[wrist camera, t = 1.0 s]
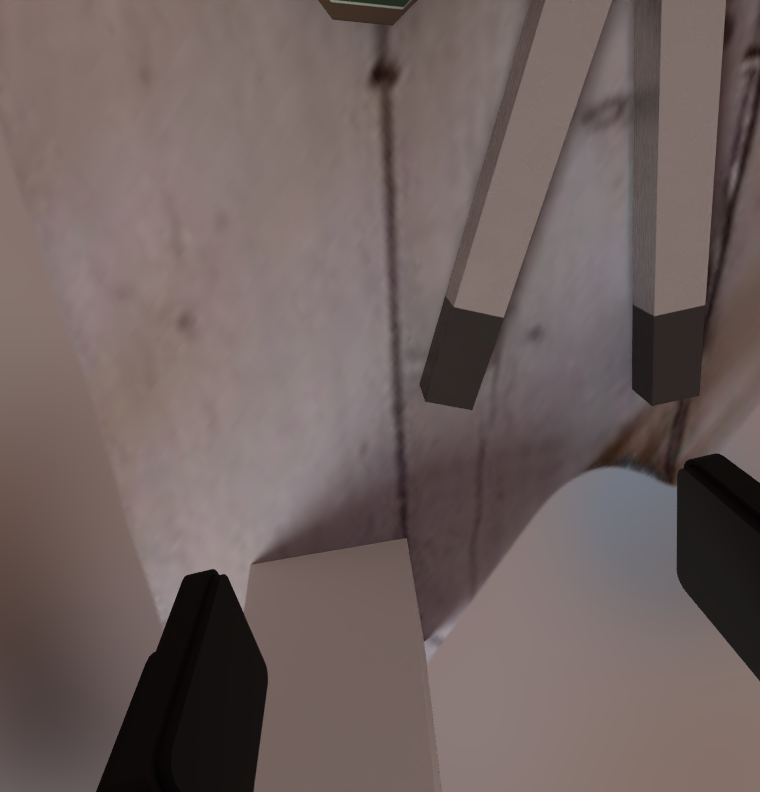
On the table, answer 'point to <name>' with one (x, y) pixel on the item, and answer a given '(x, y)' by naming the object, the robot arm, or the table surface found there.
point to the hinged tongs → (673, 189)
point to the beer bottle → (367, 10)
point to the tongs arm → (511, 191)
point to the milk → (343, 673)
